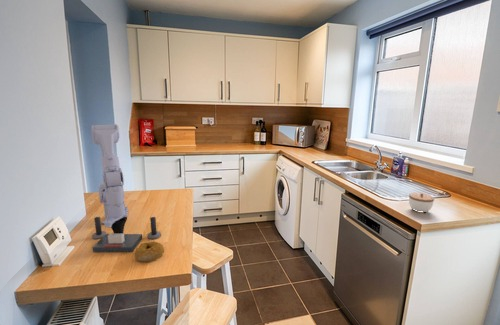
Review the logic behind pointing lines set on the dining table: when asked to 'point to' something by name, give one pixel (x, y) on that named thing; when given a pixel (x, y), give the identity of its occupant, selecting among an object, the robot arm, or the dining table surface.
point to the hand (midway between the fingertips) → (119, 236)
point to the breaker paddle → (116, 238)
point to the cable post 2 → (153, 229)
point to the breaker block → (118, 244)
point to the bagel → (149, 251)
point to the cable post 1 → (98, 229)
